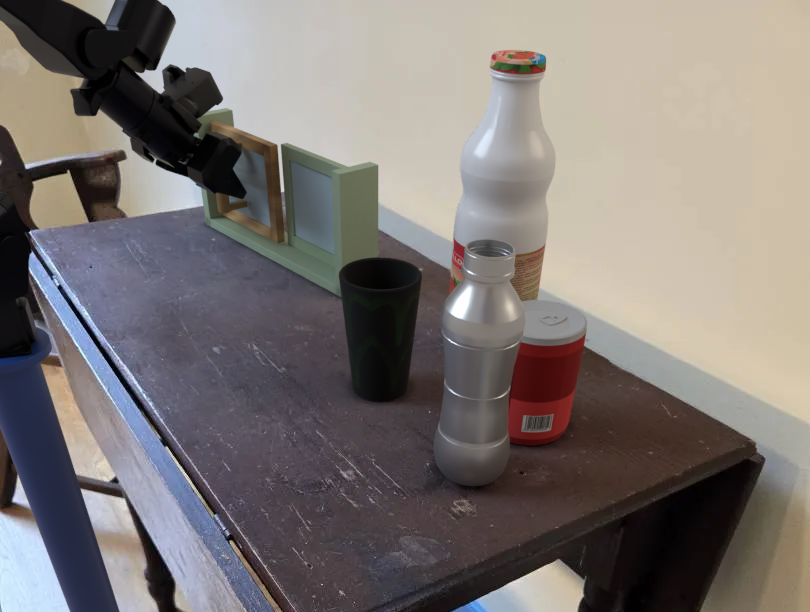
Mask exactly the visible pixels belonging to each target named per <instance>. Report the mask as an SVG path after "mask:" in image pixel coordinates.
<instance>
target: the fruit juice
mask: <svg viewBox="0 0 810 612" xmlns="http://www.w3.org/2000/svg"><path fill="white" fill-rule="evenodd" d="M489 70H490V71H489V76H490V77H491V78H492V79H491V81H492V83H491V89H490V93H489V98H488V101H487V104H486V106H485V109H484V112H483V115H482V117H481V119H480V122H479V123H478V124H477V126H476V127H475V128H474V129H473V131H472V132H471V133H470V134H469V135H468V137H467V139H466V140H465V141H464V144H463V146H462V148H461V153H460V159H459V173H460V179H461V185H462V193H461V197H460V199H459V200H458V202H457V206H456V209H455V216H454V221H453V222H454V223H453V231H452V236H453V237H452V251H451V265H450V266H451V267H450V278H449V279H450V282H449V294H448V296H449V295H450V293H451V292H452V291H453V289H454V288H455V287H456V286H457V285H458V284H459V283H460V282H461V281H462V280H463V279H464V277H465V276H464V275H463V273H462V271H461V269H462V263H463V262H464V251H465V246H466V244H467V243H468V242H470V241H473V240H477V239H495V240H501V241H504V242H507V243H509V244H511V245H513V246H514V247H515V249H516V251H515V252H516V256H515V263H514V267H515V274H514V277H513V278H512V279H510V283H511V285H512V286H513V288H514V289H515V291H516V293H517V294H518V296H519V298H520V301H529V300H539V293H540V292H539V291H540V286H541V277H542V272H543V271H542V270H543V264H544V258H545V252H546V245H547V238H548V231H549V209H548V205H547V194H548V192H549V189H550V186H551V184H552V182H553V178H554V176H555V171H556V163H557V157H556V149H555V146H554V144H553V142H552V139H551V138H550V136H549V134H548V133H547V130H546V128H545V126H544V122H543V118H542V113H541V111H542V110H541V105H540V104H541V103H540V86H541V81H542V80H543V79H544V77H545V73H546V70H547V57H546V55H545V54H543V53H540V52H536V51H530V50H520V49H506V50H504V49H503V50H497V51H494V52H493V53H492V54H491V56H490V61H489Z"/></svg>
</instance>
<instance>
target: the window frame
mask: <svg viewBox="0 0 810 612" xmlns="http://www.w3.org/2000/svg"><path fill="white" fill-rule="evenodd" d="M197 120H198V121H199V122H200V123H202V126H201V128H200V130H199V131H198V133H195V134H194V136H196V137H198V138H200V139H203V138H204V136H205V134H206V133H210V132H211V129H210V122H212V121H219V122H222V123H224V124H227V125H229V126H232V127H234V128H235V120H234V112H233V110H232V109H230V108H227V107H224V108H218V109H213V110H212V109H211V110H209V111H208V112H206V113H205V114H204V115H203V116H201V117H200V118H198V119H197ZM280 153H281V167H282V179H283V181H282V182H283V193H284V194H283V195H284V207H285V220H286V230H284V236H285V242H281V243H276V242H274V241H272V240H270V239H268V238H266V237H264V236H262V235H260V234H259V233H257V232H255V231H253V230H251V229H249V228H247V227H245V226H243V225H241V224H239V223H237V222H235V221H233V220H231V219H229V218H228V217H225V216H223V215H222V214H221V213H219V212H218V205H217V198H216V194H213V193H211V192H209V191H207V190H205V189H203V188H201V187H200V191H201V198H202V205H203V206H202V207H203V214H204V220H205V225H207V226H208V227H210V228H211V229H214V230H216V231H217V232H219V233H221V234H224V235H225V236H227V237H228V238H230V239H233V240H234V241H236V242H237V243H240V244H242V245H243V246H245V247H247V248H249V249H251V250H253V251H255V252H257V253H258V254H260V255H261V256H263V257H266V258H267V259H269V260H271V261H272V262H273V261H274V262H275V263H277V264H278V265H280V266H282V267H284V268H286V269H288V270H290V271H292V272H294V273H295V274H297V275H299V276H301V277H303V278H304V279H306V280H308V281H310V282H312V283H314V284H315V285H318V286H319V287H321V288H323V289H325V290H326V291H329V292H331V293H332V294H334V295H336V296H338V297H339V298H341V299H342V297H341V289H340V281H339V272H340V270H341V269H342V267H344V266H345V265H346V264H348V263H350V262H353V261H356V260H360V259H365V258H376V257H379V164H378V163H375V162H372V161H367V162H363V163H359V164H355V165H351V166H349V165H348V166H347V165H345V164H342V163H340V162H337V161H335V160H332V159H330V158H327V157H324V156H322V155H319V154H316V153H314V152H311V151H309V150H306V149H304V148H301V147H299V146H296V145H293V144H291V143H288V142H284V143H281V144H280Z"/></svg>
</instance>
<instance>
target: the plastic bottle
mask: <svg viewBox="0 0 810 612" xmlns="http://www.w3.org/2000/svg"><path fill="white" fill-rule="evenodd" d="M515 251H516V249H515V247H514V246H513V245H511V244H509V243H507V242H504V241H501V240H495V239H477V240H473V241H470V242H468V243H467V244H466V246H465V251H464V262H463V263H462V269H461V271H462V273H463V275H464V276H465V277H464V279H463V280H462V281H461V282H460V283H459V284H458V285H457V286H456V287H455V288H454V289H453V291H452V292H451V293H450V292H449V294H450V295H449V294H448V296H447V297H446V299H445V301H444V302H443V306H442V309H441V312H440V329H441V339H442V349H443V376H444V377H443V378H444V379H443V396H442V404H441V409H440V415H439V421H438V424H437V427H436V431H435V434H434V440H433V444H432V445H433V446H432V447H433V454H434V461H435V465H436V466H437V468H438V469H439V471H440V472H441V474H443V476H444V477H445V478H446V479H448V480H449V481H451V482H453V483H456V484H458V485H460V486H461V485H462V486H468V487H481V486H487V485H489V484H492V483H493V482H494V481H495V482H496V480H497V479H499V478H500V477H501V475H502V474H504V472H505V470H506V468H507V464H508V461H509V460H510V456H511V442H510V438H509V431H508V409H509V393H510V387H511V385H510V384H511V381H512V376H513V370H514V365H515V361H516V358H517V354H518V351H519V347H520V344H521V340H522V336H523V333H524V327H525V323H526V319H525V313H524V308H523V305H522V303H521V301H520V298H519V296H518V294H517V293H516V291H515V289H514V288H513V286H512V285H511V283H510V279H512V278H513V277H514V274H515V267H514V263H515V256H516V252H515Z"/></svg>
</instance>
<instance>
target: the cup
mask: <svg viewBox="0 0 810 612" xmlns="http://www.w3.org/2000/svg"><path fill="white" fill-rule="evenodd" d="M422 279H423V273H422V271H421V270H420V269H419V267H417V266H416V265H414V264H413V263H411V262H408V261H406V260H402V259H399V258H393V257H383V256H382V257H381V256H380V257H379V256H378V257H376V258H365V259H360V260H356V261H353V262H350V263H348V264H346V265H345V266H344V267H342V269H341V270H340V272H339V281H340V289H341V297H342V298H341V297H340V298H341V304H342V311H343V320H344V327H345V328H344V329H345V335H346V344H347V352H348V361H349V366H350V368H349V369H350V377H351V383H352V390H353V392H354V394H355V395H356V396H357V397H358V398H360V399H363V400H365V401H369V402H373V403H388V402H392V401H396V400H399V399H400V398H402V397H404V395H406V393H407V392H408V386H409V379H410V372H411V371H410V370H411V364H412V357H413V356H412V355H413V349H414V342H415V334H416V326H417V319H418V310H419V304H420V298H421V297H420V296H421V288H422Z"/></svg>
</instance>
